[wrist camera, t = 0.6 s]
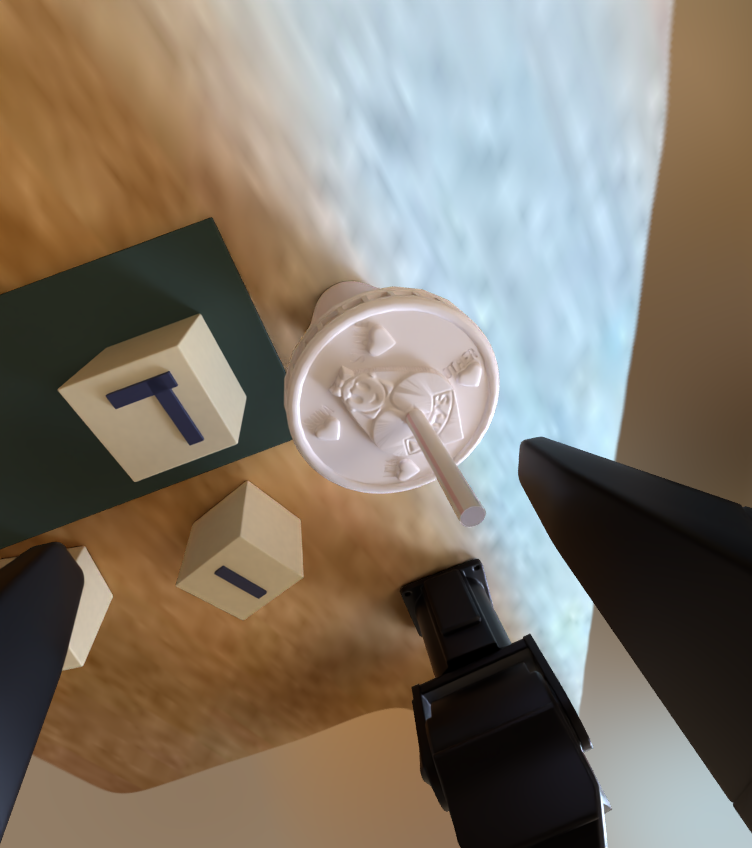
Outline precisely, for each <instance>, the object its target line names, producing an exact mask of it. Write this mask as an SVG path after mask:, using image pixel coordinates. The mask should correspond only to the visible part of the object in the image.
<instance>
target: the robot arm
mask: <svg viewBox="0 0 752 848" xmlns="http://www.w3.org/2000/svg"><path fill="white" fill-rule="evenodd" d="M518 476H519V480H520V483H521V485H522V487H523V489H524V491H525V493H526V494H527V496H528V498H529V500H530V502H531V504H532V506H533V507H534V509H535V511H536V513H537V515H538V517H539V519H540V520H541V522H542V524H543V526H544V528H545V530H546V532H547V533H548V535H549V537H550V539H551V540H552V542H553V544H554V545H555V547H556V549H557V550H558V552H559V553H560V555H561V556H562V558H563V559H564V561H565V562H566V563H567V565H568V566H569V568H570V569H571V571H572V572H573V574H574V575H575V576H576V578H577V579H578V581H579V582H580V584H581V585H582V587H583V588H584V590H585V591H586V592H587V594H588V595H589V597H590V598H591V600H592V601H593V603H594V604H595V606H596V607H597V608H598V610H599V611H600V613H601V614H602V616H603V617H604V618H605V620H606V621H607V623H608V624H609V626H610V627H611V629H612V630H613V632H614V633H615V635H616V636H617V637H618V639H619V640H620V642H621V643H622V645H623V646H624V648H625V649H626V651H627V652H628V653H629V655H630V656H631V658H632V659H633V661H634V662H635V664H636V665H637V667H638V668H639V669H640V671H641V672H642V674H643V675H644V677H645V678H646V679H647V681H648V683H649V684H650V685H651V687H652V688H653V689H654V691H655V693H656V694H657V696H658V697H659V699H660V700H661V701H662V703H663V704H664V706H665V707H666V708H667V710H668V712H669V713H670V714H671V716H672V717H673V719H674V720H675V722H676V723H677V725H678V726H679V728H680V729H681V730H682V732H683V733H684V735H685V736H686V738H687V739H688V741H689V742H690V744H691V745H692V746H693V748H694V749H695V751H696V752H697V754H698V755H699V757H700V758H701V760H702V761H703V762H704V764H705V765H706V767H707V768H708V770H709V771H710V773H711V774H712V775H713V777H714V778H715V780H716V781H717V783H718V784H719V785H720V787H721V789H722V790H723V791H724V793H725V794H726V796H727V797H728V799H729V800H730V801H731V802H734V803H733V806H734V808H735V810H736V811H737V812H738V814H739V815H740V817H741V818H742V820H743V821H744V823H745V824H746V825H747V827H748V828H749V830H750V831H751V833H752V508H750V507H746V506H745V507H742V506H741V505H740V504H738V503H735V502H732V501H729V500H726V499H723V498H720V497H718V496H715V495H712V494H709V493H705V492H703V491H700V490H697V489H694V488H691V487H688V486H685V485H682V484H679V483H676V482H673V481H670V480H668V479H665V478H662V477H659V476H656V475H653V474H650V473H647V472H644V471H641V470H638V469H635V468H632V467H629V466H626V465H623V464H620V463H617V462H615V461H612V460H609V459H606V458H603V457H600V456H597V455H594V454H591V453H588V452H585V451H582V450H580V449H577V448H574V447H571V446H568V445H565V444H562V443H559V442H556V441H553V440H550V439H547V438H544V437H536V438H531V439H527V440H524V441H522V442H521V445H520V451H519V466H518ZM83 587H84V574H83V571H82V569H81V568H80V566H79V565H78V564H77V562H76V561H75V559H74V558H73V557H72V555H71V554H70V552H69V551H68V550H67V548H66V547H65V546H64V545H63V544H61V543H59V542H51V543H47V544H42V545H38V546H34V547H32V548H30V549H28V550H27V551H25V552H24V553H22V554H21V555H19V556H18V557H17V558H15V559H14V560H12V561H11V562H9V563H8V564H7V565H5V566H4V567H2V568H1V569H0V843H1V840H2V837H3V835H4V831H5V829H6V826H7V823H8V821H9V818H10V815H11V812H12V809H13V807H14V804H15V801H16V798H17V795H18V793H19V790H20V787H21V784H22V781H23V779H24V776H25V773H26V770H27V768H28V765H29V762H30V759H31V756H32V754H33V751H34V748H35V745H36V742H37V740H38V737H39V734H40V731H41V728H42V726H43V723H44V720H45V717H46V715H47V712H48V709H49V706H50V703H51V701H52V698H53V695H54V692H55V689H56V687H57V684H58V681H59V678H60V675H61V672H62V669H63V666H64V662H65V659H66V655H67V652H68V648H69V643H70V639H71V635H72V631H73V627H74V623H75V619H76V615H77V611H78V607H79V603H80V599H81V595H82V591H83ZM400 592H401V595H402V598H403V600H404V603H405V605H406V607H407V609H408V611H409V614H410V616H411V618H412V620H413V622H414V625H415V627H416V629H417V631H418V634H419V635H420V636H421V637H423V640H424V643H425V646H426V650H427V653H428V656H429V659H430V662H431V666H432V669H433V672H434V675H435V678H434V679H432V680H430V681H427V682H425V683H423V684H421V685H420V684H417V685H415V686H413V687H412V693H413V700H412V704H413V711H414V717H415V722H416V730H417V736H418V743H419V752H420V772H421V776H422V778H423V780H424V782H426V783H427V784H429V785H430V786H431V787H432V789H433V791H434V792H435V795H436V797H437V799H438V802H439V803H440V805H441V807H442V808H443V809H444V811H446V812H447V811H449V812H450V815H451V818H452V821H453V825H454V828H455V832H456V836H457V840H458V843H459V845H460V847H461V848H607V838H606V828H605V816H604V806H603V800H602V796H601V792H600V788H599V784H598V782H597V779H596V777H595V775H594V773H593V771H592V770H591V768H590V766H589V764H588V762H587V760H586V758H585V756H584V754H583V752H586V751H588V750H590V749H593V746H592V743H591V741H590V739H589V736H588V735H587V732H586V730H585V728H584V726H583V724H582V722H581V720H580V719H579V717H578V715H577V713H576V711H575V709H574V707H573V705H572V704H571V702H570V700H569V698H568V696H567V695H566V693H565V691H564V689H563V688H562V686H561V684H560V683H559V681H558V679H557V678H556V676H555V674H554V673H553V671H552V669H551V668H550V666H549V664H548V663H547V661H546V659H545V658H544V656H543V654H542V653H541V651H540V649H539V648H538V646H537V644H536V643H535V641H534V639H533V638H532V636H531V634H528V635H526V636H524V637H523V639H521V640H519V641H517V642H514V643H512V644H511V642H510V640H509V638H508V636H507V634H506V632H505V630H504V628H503V626H502V624H501V622H500V620H499V618H498V616H497V614H496V612H495V610H494V608H493V604H492V600H491V596H490V592H489V588H488V584H487V580H486V576H485V572H484V568H483V565H482V563H481V561H480V560H479V559H474V560H471V561H469V562H466V563H463V564H461V565H458V566H456V567H453V568H450V569H448V570H445V571H442V572H440V573H437V574H435V575H432V576H429V577H427V578H424V579H421V580H419V581H416V582H414V583H411V584H408V585H406V586H404V587H402V588H401V590H400Z"/></svg>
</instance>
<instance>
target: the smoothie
mask: <svg viewBox="0 0 752 848" xmlns="http://www.w3.org/2000/svg"><path fill="white" fill-rule="evenodd" d="M498 396H499V371H498V364H497V361H496V357H495V354H494V352H493V349H492V347H491V345H490V343H489V341H488V339H487V337H486V336H485V335H484V333H483V332H482V330H481V329H480V328H479V327H478V326H477V325H476V324H475V323H474V322H473V321H472V320H471V319H470V318H469V317H468V316H467V315H466V314H464V313H463V312H462V311H461V310H460V309H458V308H457V307H456V306H455V305H454V304H452V303H451V302H450V301H449V300H447V299H444V298H442V297H439V296H437V295H435V294H432V293H430V292H427V291H425V290H423V289H413V288H403V287H393V286H392V287H387V288H381V289H380V288H377V287H374V286H371V285H368V284H365V283H361V282H357V281H345V282H341V283H338V284H335V285H333V286H332V287H330V288H329V289H327V290H326V291H325V292H324V293H323V294H322V295H321V297H320V298H319V300H318V302H317V304H316V306H315V309H314V313H313V317H312V320H311V324H310V327H309V328H308V330H307V331H306V333H305V334H304V336H303V337H302V339H301V340H300V341H299V343H298V344H297V346H296V347H295V349H294V350H293V353H292V356H291V359H290V362H289V365H288V369H287V372H286V375H285V378H284V407H285V410H286V414H287V421H288V426H289V430H290V434H291V436H292V439H293V441H294V443H295V445H296V447H297V449H298V451H299V452H300V454H301V455H302V457H303V458H304V459H305V460H306V462H307V463H308V464H309V465H310V466H311V467H312V468H313V469H314V470H315V471H316V472H318V473H319V474H320V475H322V476H323V477H325V478H326V479H328V480H329V481H331V482H333V483H335V484H337V485H339V486H342V487H345V488H347V489H351V490H355V491H359V492H365V493H381V494H383V493H395V492H402V491H406V490H411V489H414V488H417V487H420V486H423V485H425V484H428V483H430V482H432V481H434V480H436V479H437V480H438V482H439V484H440V486H441V487H442V489H443V491H444V493H445V495H446V497H447V499H448V500H449V502H450V504H451V506H452V508H453V510H454V512H455V514H456V515H457V517H458V519H459V521H460V523H461V524H462V525H463V526H465V527H473V526H476V525H478V524H480V523H481V522H482V521H483V520H484V518H485V516H486V511H485V509H484V508H483V506H482V504H481V503H480V501H479V500H478V498H477V497H476V495H475V493H474V492H473V490H472V489H471V487H470V486H469V484H468V482H467V481H466V479H465V478H464V476H463V475H462V473H461V471H460V470H459V468H458V467H457V466H458V465H459V464H460V463H461V462H462V461H463V460H464V459H465V458H467V456H468V455H469V454H470V453H471V452H472V451H473V450H474V449H475V447H476V446H477V445H478V444H479V442H480V441H481V439H482V438H483V436H484V435H485V433H486V431H487V429H488V428H489V425H490V423H491V421H492V419H493V416H494V413H495V410H496V406H497V402H498Z"/></svg>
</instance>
